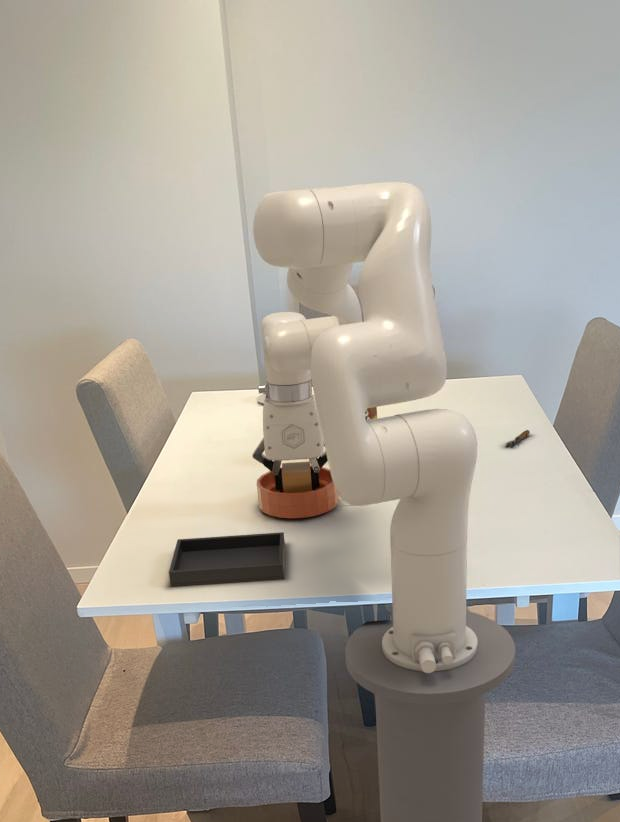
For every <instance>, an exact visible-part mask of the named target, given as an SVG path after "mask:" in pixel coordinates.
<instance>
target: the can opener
mask: <svg viewBox="0 0 620 822" xmlns="http://www.w3.org/2000/svg"><path fill="white" fill-rule="evenodd" d="M530 433H531V432H530V430H529V429H526V430H524V431H522V432H521V433H520V434H519V435H518V436H516V437H515V438H514V440H510V441H508V442H506V443H505V446H506V447H507V446H509V447H513V446H514V445H515V443H520V442H521V441H522V440H523V439H525V438H526V437H528V436H529V435H530Z"/></svg>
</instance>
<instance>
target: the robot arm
mask: <svg viewBox="0 0 620 822" xmlns="http://www.w3.org/2000/svg"><path fill="white" fill-rule="evenodd" d="M252 225H253V226H252V232H253V239H254V245H255V249H256V250H257V253H258V255H259V256H260V258H261V259H262V260H263V261H264V262H265V263H266V264H269V265H270V266H273V267H277V268H284V269H287V272H286V273H287V274H286V285H287V288H288V290H289V292H290V294H291V296H292V297H293V298H294V300H296V301H297V302H298V303H300V304H301V305H302V306H304V307H306V308H308V309H311V310H313V311H316V312H318V313H322V314H326V315H329V316H321V317H315V318H313V317H312V318H307V319H306V317H305V316H304V315H303V314H302V313H300V312H295V311H281V312H280V311H279V312H274V313H269V314H267V315H266V316H265V317H263V319H262V320H261V325H260V328H261V329H260V331H261V340H262V350H263V361H264V371H265V373H264V374H265V381H266V382H264V384H262V385H257V387H258V388H257V389H258V394H260V395H262V394H266V396H268V398H266V399H265V401H264V403H263V406H262V431H263V433H262V434H263V435H262V436H263V437H262V439H261V441H260V442H259V444H258V445H257V446H256V448H255V449H254V451H253V452H252V459H254V460H255V461H257V462H259V463H260V464H262V465H263V467H264V468H266V469H267V470H269V471H271V472H272V473H273V474H274V476H275V486H276V491H277V490H280V493H283V482H282V470H281V468H282V463H283V461H293V460H294V461H295V460H296V461H297V460H309V461H310V466H311V483H312V491H313V490H316V488H320V486H319V471H320V469H321V468H322V467H324V466H325V465H326V464H327V463H328V467H329V468H328V469H330V473H331V477H332V480H333V483H334V486H335V489H336V491H337V493H338V495H339V498H340V499H341V500H342V501H344V503H346V504H348V505H349V506H353V507H354V506H358V507H364V506H370V505H376V504H382V503H386V502H392V501H397V500H399V501H398V502H397V505H396V507H395V509H394V511H393V514H392V516H391V522H390V527H389V539H390V540H389V541H390V544H389V545H390V573H391V574H390V575H391V603H392V608H391V609H392V612H393V627H392V628H390V629H389V630H388V631H387V632H386V633H385V634H384V636H383V638H382V651H383V653H384V655H385V656H386V658H387V659H389V660H390V661H391V662H392V663H394V664H396V665H398V666H400V667H403V668H406V669H410V670H414V671H423V672H425V673H431V672H435V671H444V670H449V669H453V668H456V667H459V666H461V665H463V664H465V663H467V662H468V661H469V660H471V659H472V658H473V656H474V655H475V654H476V652H477V646H478V640H477V636H476V635H475V633H474V632H473V631H472V630H471V629H470V628H469V627H467V626H466V611H467V589H468V588H467V584H468V583H467V582H468V581H467V579H468V577H467V576H468V575H467V574H468V530H469V529H468V527H469V506H470V505H469V504H470V496H471V490H472V483H473V479H474V475H475V470H476V466H477V465H476V464H477V461H478V460H477V459H478V439H477V435H476V431H475V429H474V427H473V425H472V423H471V422H470V420H469V419H468V418H467V417H466V416H464V415H463V414H462V413H460V412H458V411H455V410H452V409H446V408H429V409H423V410H416V411H409V412H405V413H404V412H403V413H397V414H394V415H390V416H383V417H377V419H372V420H366V419H365V409H367V408H373V407H377V408H379V407H385V406H390V405H395V404H402V403H409V402H412V401H417V400H422V399H425V398H430V397H431V396H433V395H435V394H437V393H438V392H440V391H441V390H442V389H443V387H444V386H445V384H446V381H447V376H448V364H447V354H446V350H445V343H444V338H443V333H442V332H443V331H442V328H441V322H440V317H439V312H438V307H437V301H436V296H435V291H434V286H433V282H432V276H431V249H432V248H431V247H432V217H431V212H430V209H429V205H428V202H427V199H426V197H425V195H424V194H423V192H422V190H420V189H419V188H418V187H417V186H416V185H414V184H413V183H409V182H402V181H385V182H369V183H358V184H348V185H341V186H332V187H329V186H327V187H314V188H303V189H293V190H280V191H273V192H269V193H266V194H265V195H264V196H263V197H261V199H260V201H259V202H258V204H257V206H256V209H255V212H254V216H253V223H252ZM354 263H363V265H362V266H361V269H360V273H359V275H358V281H357V289H358V296H359V298H358V296H357V294H356V291H355V290H354V289H353V287H352V285H350V284H349V283H348V282H349V280H350V276H351V272H352V269H353V267H354ZM324 449H325V451H324ZM309 461H308V462H309Z"/></svg>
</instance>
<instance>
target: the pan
mask: <svg viewBox="0 0 620 822" xmlns="http://www.w3.org/2000/svg"><path fill="white" fill-rule="evenodd" d="M285 561H286V541H285V532H284V531H282V532H267V533H266V532H265V533H251V534H238V535H237V534H236V535H223V536H210V537H209V536H208V537H194V538H192V537H191V538H178V539H177V540H176V543H175V548H174V551H173V555H172V559H171V563H170V566H169V570H168V577H169V583H170V587H183V586H197V585H211V584H227V583H228V584H229V583H241V582H256V581H270V580H284V579H285V569H286V568H285V567H286V562H285Z"/></svg>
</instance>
